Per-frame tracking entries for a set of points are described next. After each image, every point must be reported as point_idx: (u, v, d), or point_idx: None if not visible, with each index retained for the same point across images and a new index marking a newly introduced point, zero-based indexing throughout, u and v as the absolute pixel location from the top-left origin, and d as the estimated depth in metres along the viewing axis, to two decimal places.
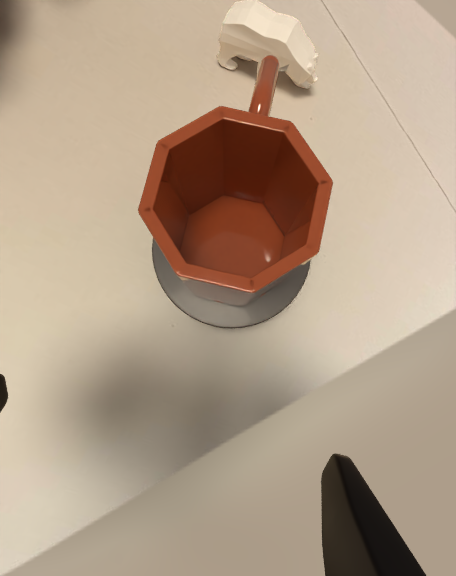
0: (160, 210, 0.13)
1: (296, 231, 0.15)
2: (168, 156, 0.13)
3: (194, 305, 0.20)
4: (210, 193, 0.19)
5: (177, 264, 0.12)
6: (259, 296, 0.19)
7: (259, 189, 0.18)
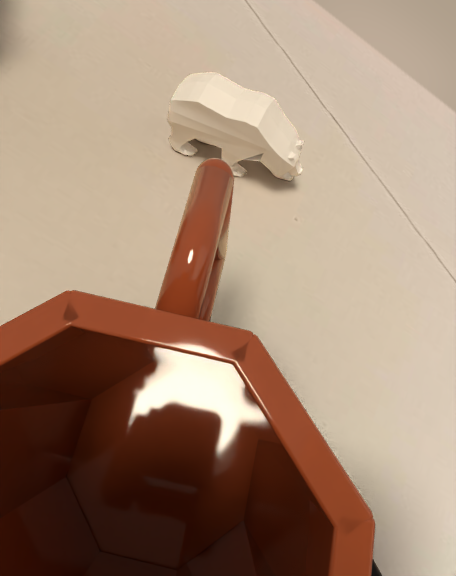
0: None
1: (277, 525, 0.07)
2: None
3: None
4: (123, 373, 0.10)
5: None
6: None
7: (209, 371, 0.10)
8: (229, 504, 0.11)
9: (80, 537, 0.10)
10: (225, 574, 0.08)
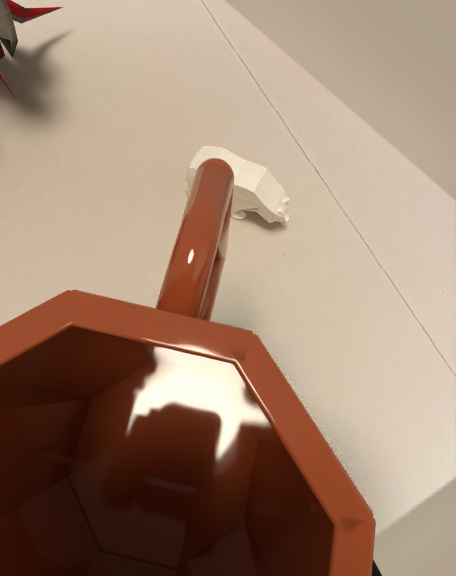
0: None
1: (277, 525, 0.07)
2: None
3: None
4: (123, 372, 0.10)
5: None
6: None
7: (209, 371, 0.10)
8: (229, 504, 0.11)
9: (80, 537, 0.10)
10: (225, 574, 0.08)
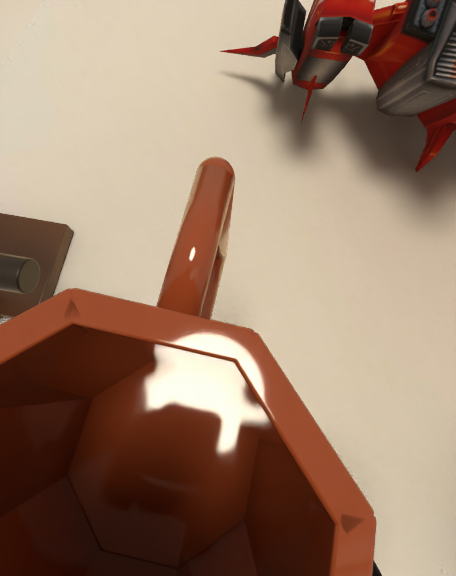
0: None
1: (277, 523, 0.07)
2: None
3: None
4: (123, 372, 0.10)
5: None
6: None
7: (210, 370, 0.10)
8: (230, 503, 0.11)
9: (81, 536, 0.10)
10: (226, 573, 0.08)
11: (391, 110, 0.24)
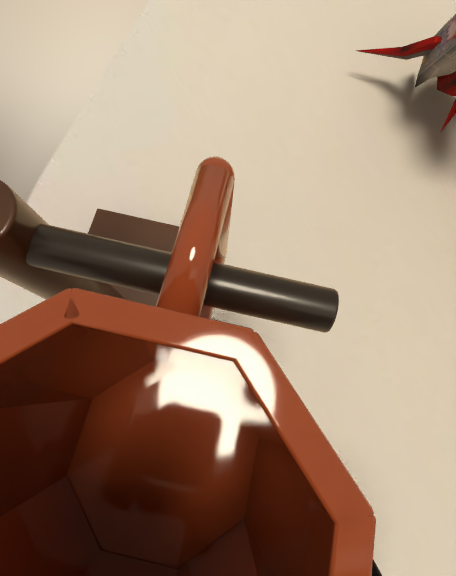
0: None
1: (277, 523, 0.07)
2: None
3: None
4: (123, 371, 0.10)
5: None
6: None
7: (210, 370, 0.10)
8: (229, 503, 0.11)
9: (80, 536, 0.10)
10: (225, 572, 0.08)
11: None
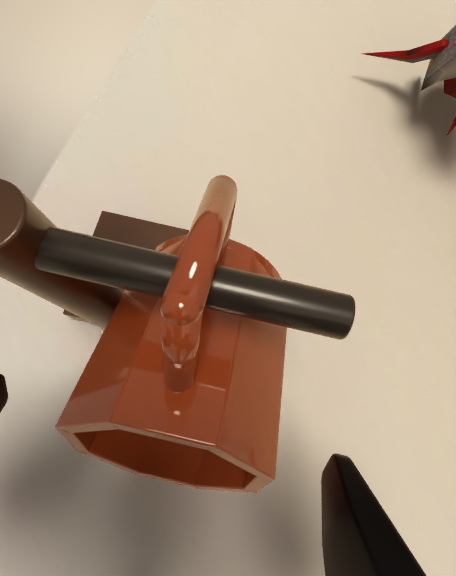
0: None
1: None
2: None
3: None
4: None
5: (131, 471, 0.14)
6: None
7: None
8: None
9: None
10: None
11: None
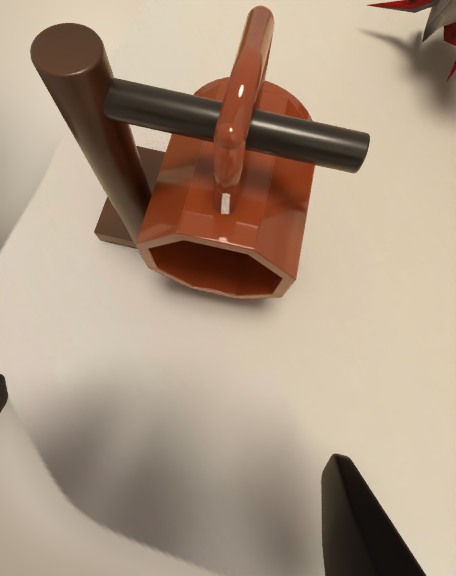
0: (162, 247, 0.16)
1: None
2: (150, 247, 0.14)
3: None
4: None
5: (188, 285, 0.18)
6: None
7: None
8: None
9: None
10: None
11: None
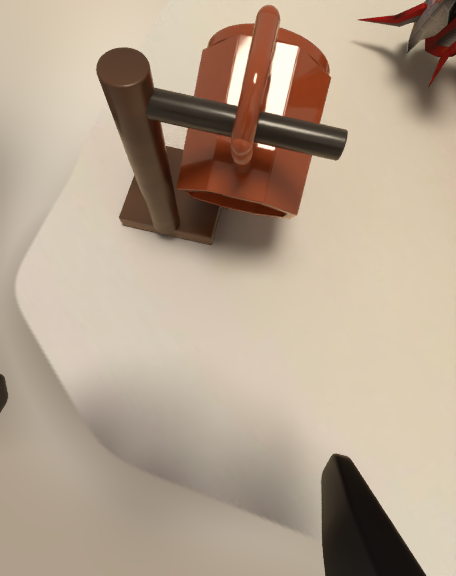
0: None
1: None
2: None
3: None
4: None
5: (217, 205, 0.23)
6: None
7: None
8: None
9: None
10: None
11: None
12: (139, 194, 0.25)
